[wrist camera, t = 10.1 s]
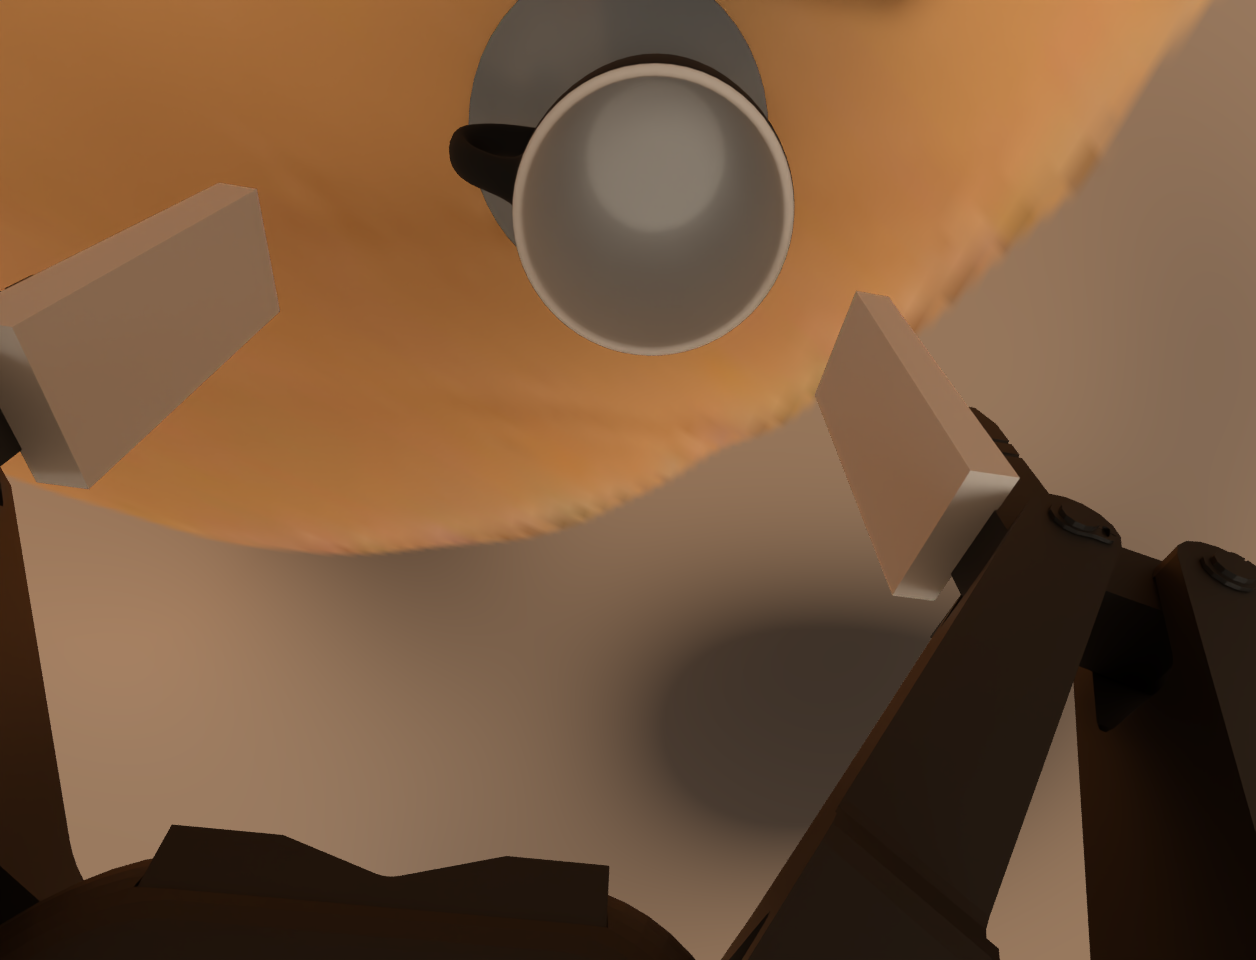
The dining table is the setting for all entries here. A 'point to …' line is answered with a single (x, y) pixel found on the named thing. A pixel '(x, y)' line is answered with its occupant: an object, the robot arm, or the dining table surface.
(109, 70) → the dining table surface
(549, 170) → the mug
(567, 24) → the coaster
